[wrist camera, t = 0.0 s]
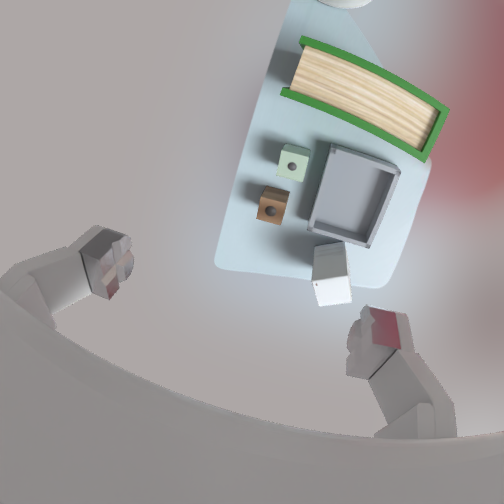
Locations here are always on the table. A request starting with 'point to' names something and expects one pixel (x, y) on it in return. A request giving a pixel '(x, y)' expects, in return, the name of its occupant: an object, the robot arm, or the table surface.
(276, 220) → the walnut block
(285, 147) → the sage block
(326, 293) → the supplement box
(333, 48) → the hardback book
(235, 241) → the table surface
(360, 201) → the tray
